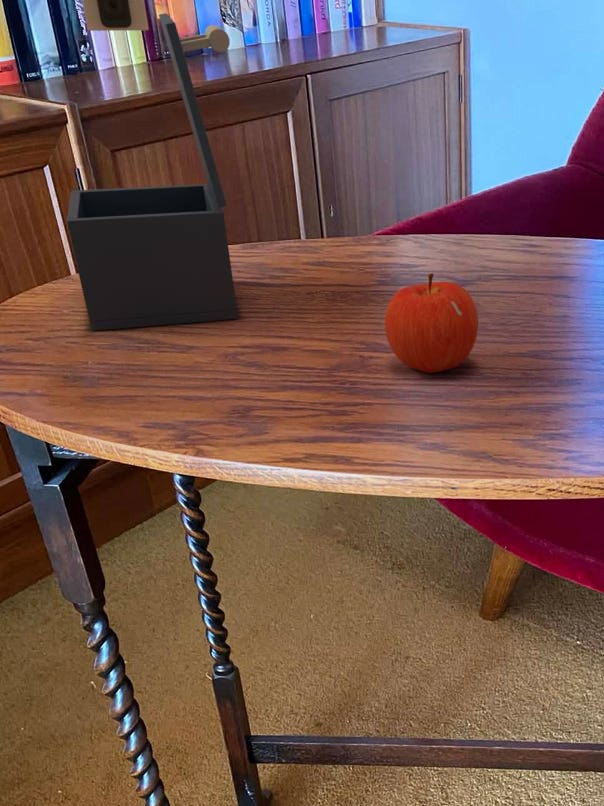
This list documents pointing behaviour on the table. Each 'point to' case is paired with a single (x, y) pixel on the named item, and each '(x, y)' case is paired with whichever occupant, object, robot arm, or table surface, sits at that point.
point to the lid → (176, 48)
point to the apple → (432, 325)
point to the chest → (151, 256)
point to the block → (136, 24)
